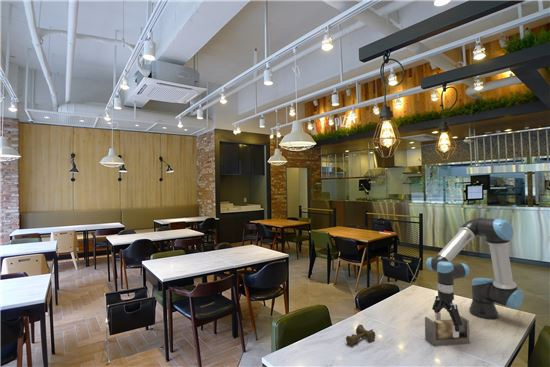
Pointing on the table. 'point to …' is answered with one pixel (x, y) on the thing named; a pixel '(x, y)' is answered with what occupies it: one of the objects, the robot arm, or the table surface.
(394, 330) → the table surface
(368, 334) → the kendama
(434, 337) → the grey u-shaped piece
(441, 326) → the door panel
